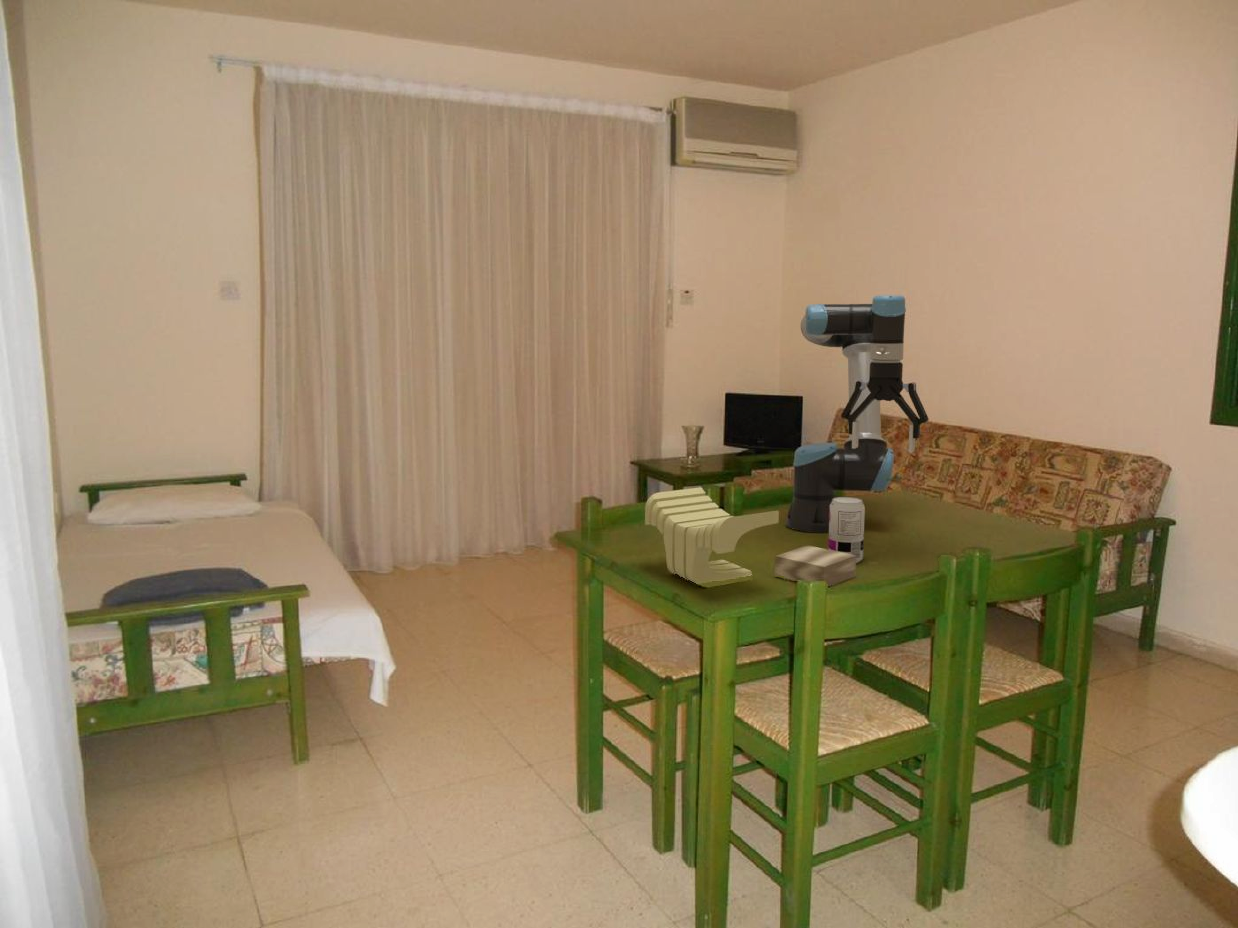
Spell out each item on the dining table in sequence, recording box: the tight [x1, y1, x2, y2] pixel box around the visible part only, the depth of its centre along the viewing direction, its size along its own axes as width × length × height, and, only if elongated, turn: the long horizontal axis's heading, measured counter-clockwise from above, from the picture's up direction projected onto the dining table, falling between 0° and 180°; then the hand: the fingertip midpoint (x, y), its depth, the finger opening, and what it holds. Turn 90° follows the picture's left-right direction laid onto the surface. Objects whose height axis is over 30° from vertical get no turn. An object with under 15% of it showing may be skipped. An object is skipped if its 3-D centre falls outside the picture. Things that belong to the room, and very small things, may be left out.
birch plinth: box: [774, 545, 857, 586], centre depth 210 cm, size 13×13×5 cm
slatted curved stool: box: [644, 486, 780, 585], centre depth 209 cm, size 30×16×18 cm, turn 29°
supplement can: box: [827, 496, 866, 564], centre depth 223 cm, size 8×8×15 cm
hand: (882, 450), depth 221 cm, fingers open, 13 cm apart
